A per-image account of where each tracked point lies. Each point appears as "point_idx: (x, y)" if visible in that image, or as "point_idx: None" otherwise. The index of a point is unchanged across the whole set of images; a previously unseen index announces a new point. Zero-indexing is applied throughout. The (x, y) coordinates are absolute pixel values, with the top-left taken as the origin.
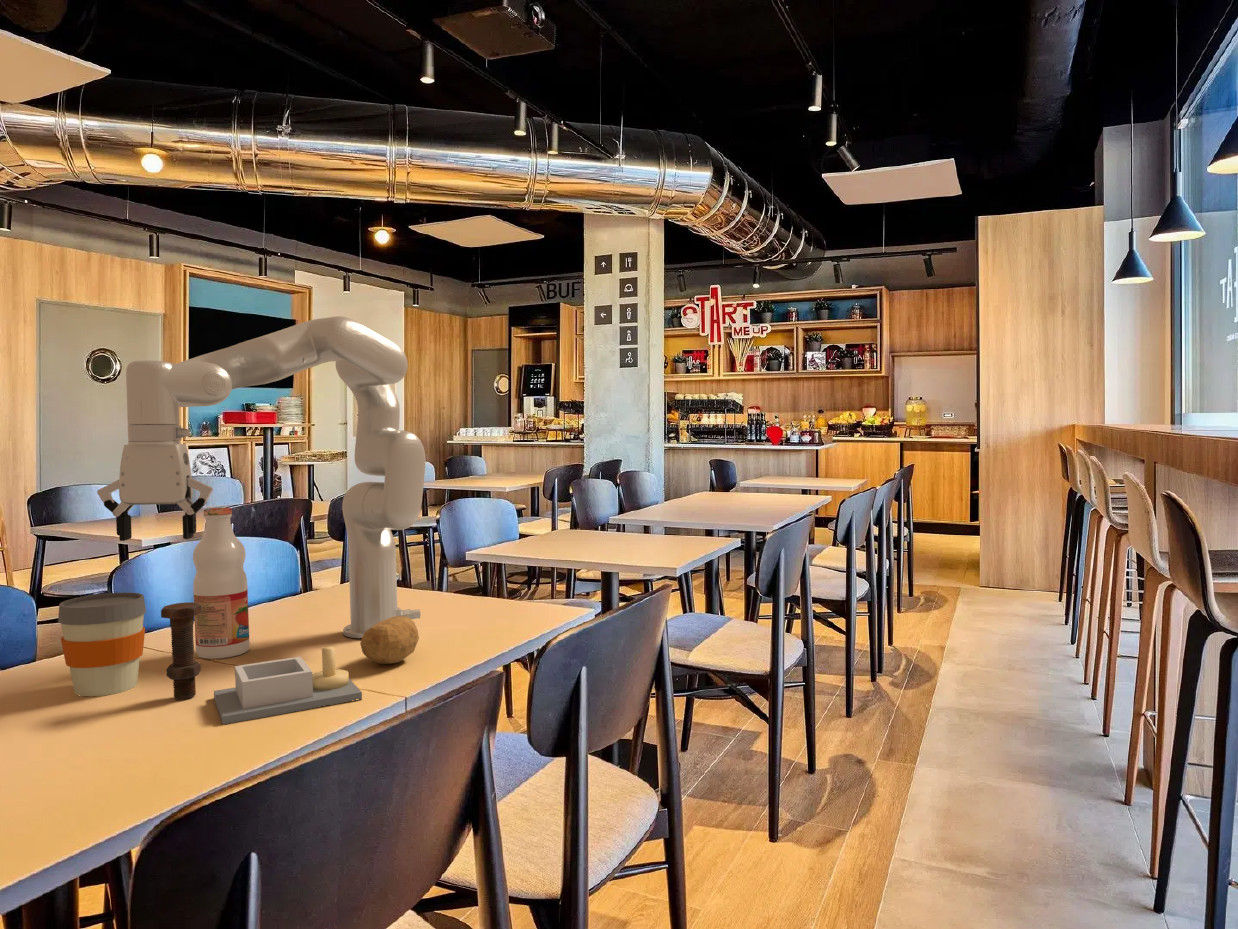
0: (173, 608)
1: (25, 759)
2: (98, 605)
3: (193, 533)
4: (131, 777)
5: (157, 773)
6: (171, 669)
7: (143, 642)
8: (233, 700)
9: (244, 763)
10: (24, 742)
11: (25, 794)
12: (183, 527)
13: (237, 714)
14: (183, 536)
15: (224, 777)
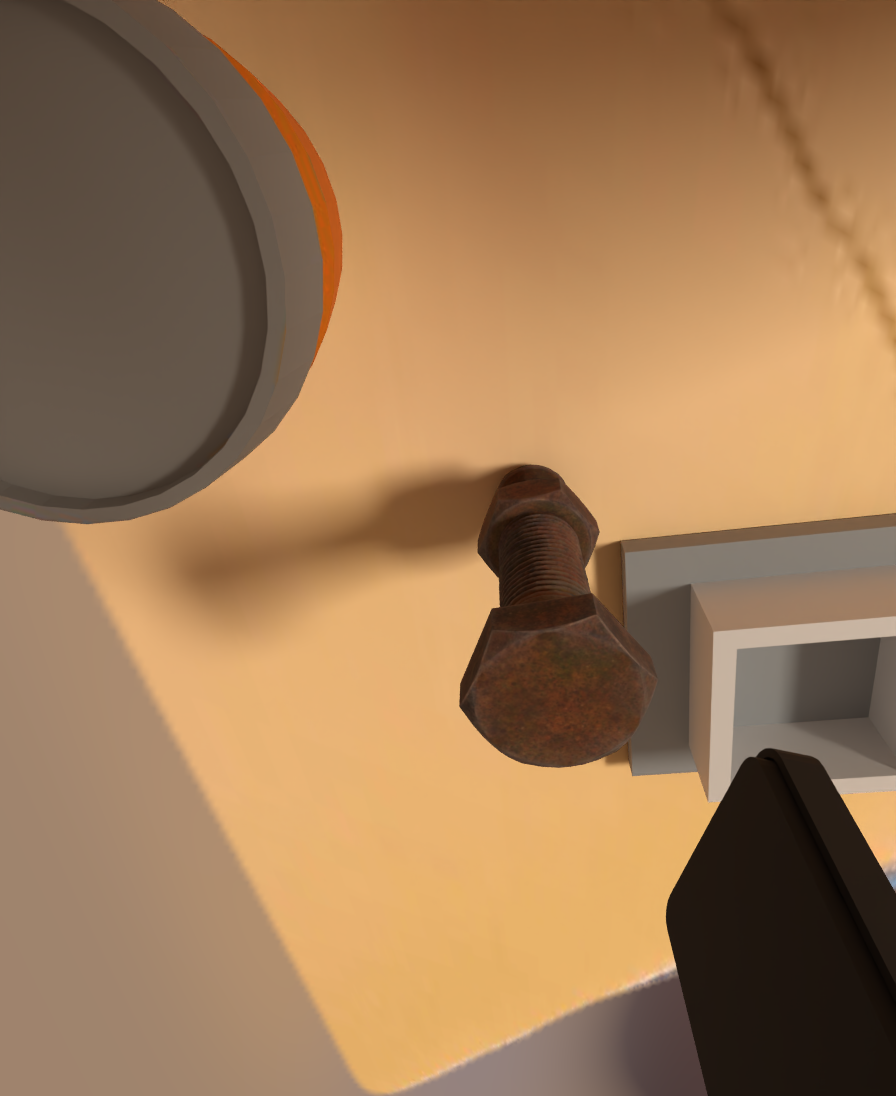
0: (522, 748)
1: (225, 782)
2: (32, 331)
3: (828, 783)
4: (457, 928)
5: (499, 930)
6: (497, 575)
7: (338, 251)
8: (672, 671)
9: (650, 949)
10: (175, 683)
11: (294, 922)
12: (708, 1057)
13: (668, 773)
14: (673, 936)
15: (611, 981)
